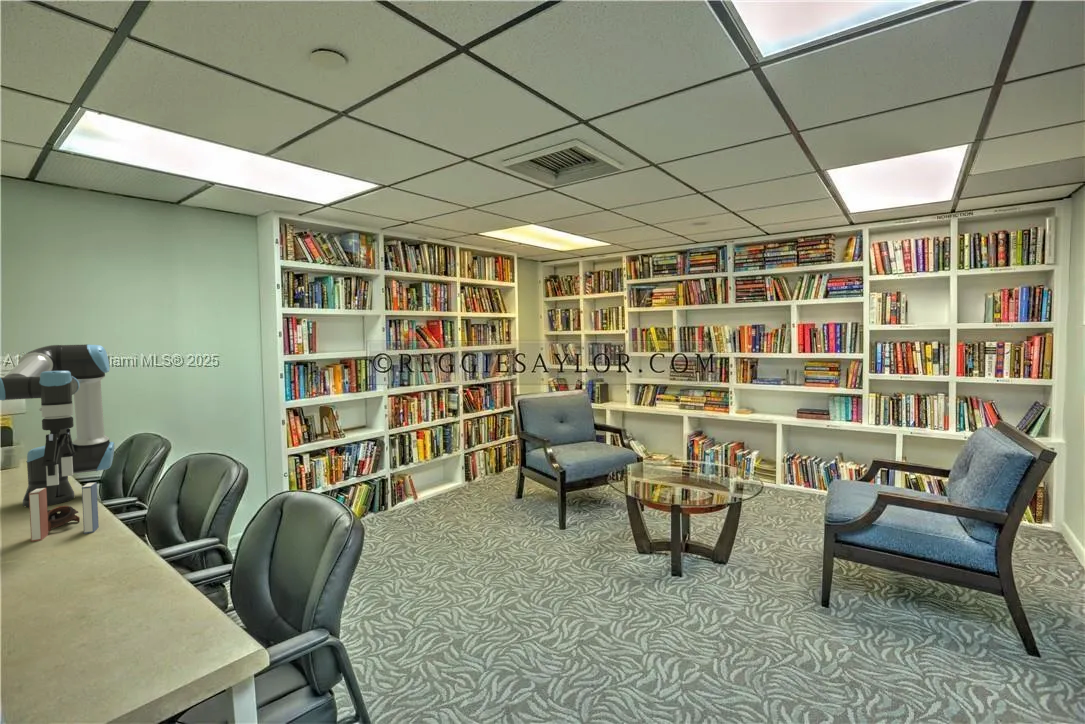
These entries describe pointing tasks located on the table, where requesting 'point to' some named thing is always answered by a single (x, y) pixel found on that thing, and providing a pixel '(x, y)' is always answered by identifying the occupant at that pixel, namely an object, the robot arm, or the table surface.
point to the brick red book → (38, 514)
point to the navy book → (90, 507)
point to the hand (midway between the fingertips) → (60, 480)
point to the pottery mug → (61, 516)
